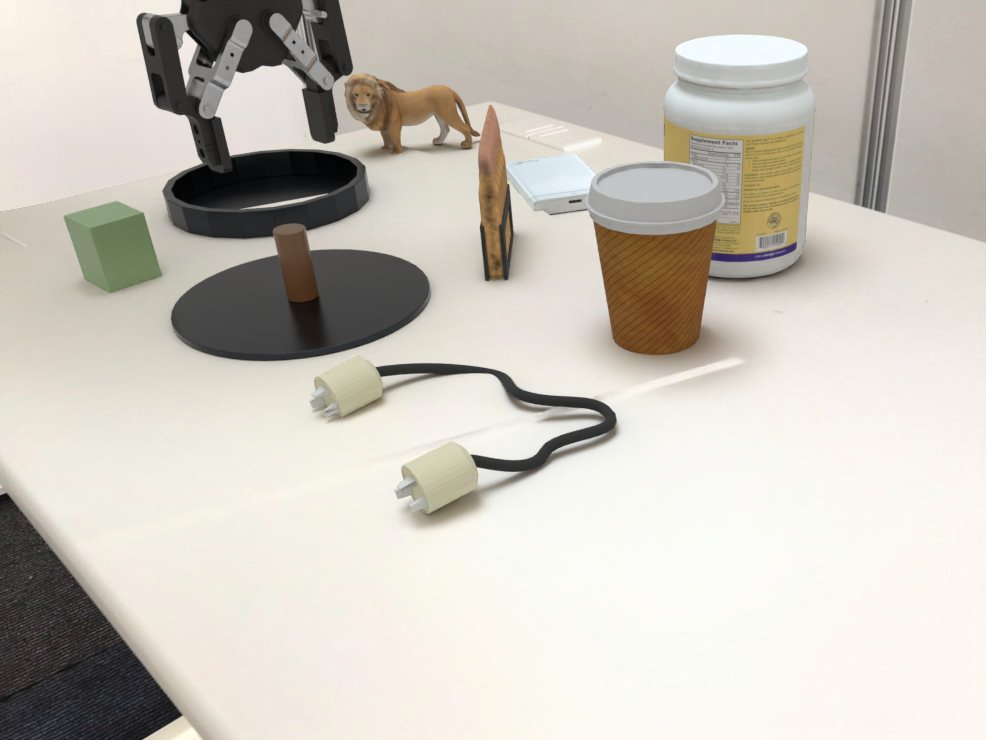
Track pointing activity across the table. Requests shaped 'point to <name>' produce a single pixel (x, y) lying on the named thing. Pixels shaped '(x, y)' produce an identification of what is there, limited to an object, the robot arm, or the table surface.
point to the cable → (451, 463)
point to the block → (113, 246)
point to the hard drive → (552, 182)
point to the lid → (300, 301)
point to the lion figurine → (404, 109)
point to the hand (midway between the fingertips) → (273, 155)
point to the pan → (267, 193)
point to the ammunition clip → (494, 202)
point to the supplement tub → (746, 143)
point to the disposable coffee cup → (655, 250)
